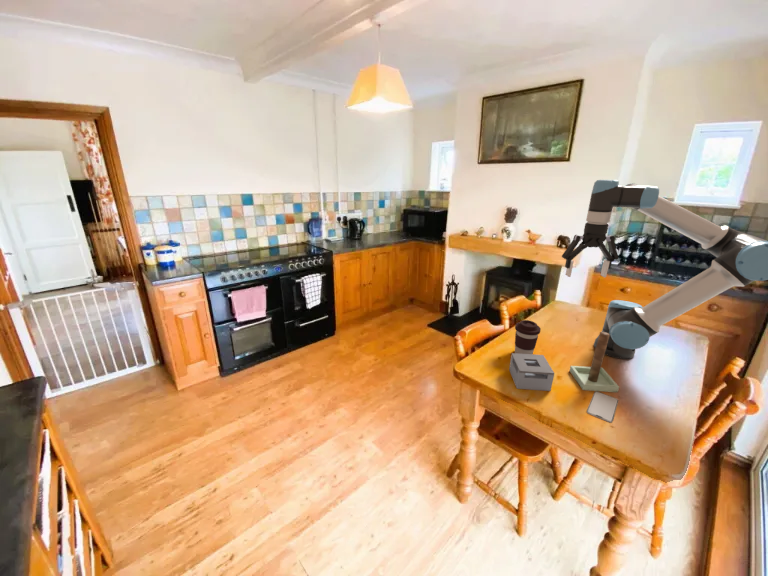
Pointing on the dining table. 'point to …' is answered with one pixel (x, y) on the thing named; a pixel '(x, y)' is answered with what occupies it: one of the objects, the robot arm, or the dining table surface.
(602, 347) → the brown wooden bar
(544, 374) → the grey slotted box
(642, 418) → the dining table surface
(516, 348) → the coffee cup
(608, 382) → the tray
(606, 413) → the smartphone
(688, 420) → the dining table surface
